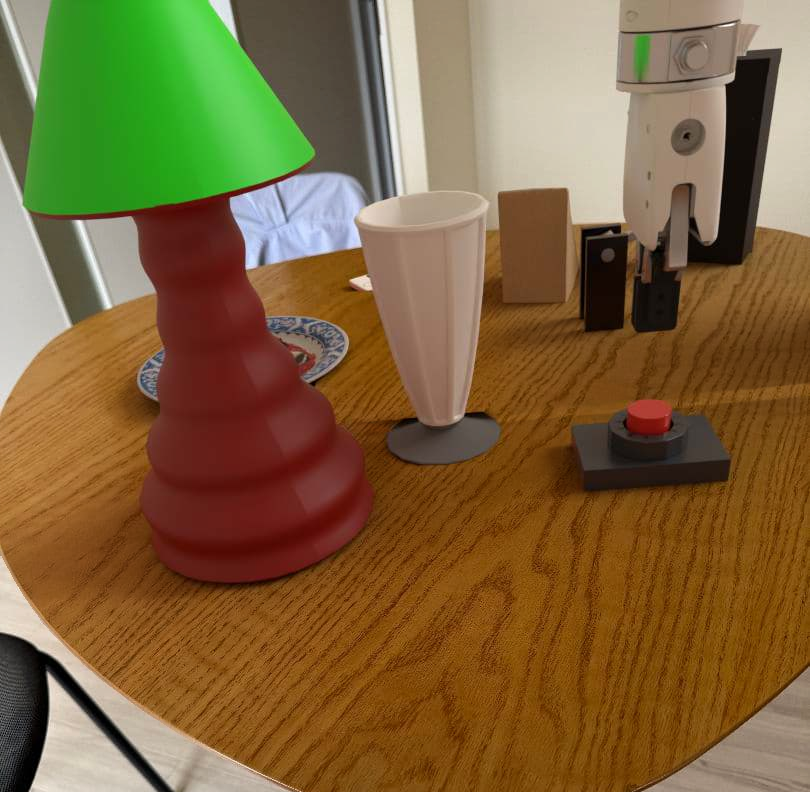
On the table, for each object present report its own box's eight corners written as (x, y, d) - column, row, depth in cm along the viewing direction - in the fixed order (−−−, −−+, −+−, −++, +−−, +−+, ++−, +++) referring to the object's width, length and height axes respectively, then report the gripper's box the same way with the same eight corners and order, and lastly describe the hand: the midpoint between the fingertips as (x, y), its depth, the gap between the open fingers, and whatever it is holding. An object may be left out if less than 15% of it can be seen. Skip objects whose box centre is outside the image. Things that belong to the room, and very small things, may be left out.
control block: (702, 435, 72) (707, 395, 70) (727, 481, 66) (734, 440, 63) (570, 445, 73) (571, 407, 71) (583, 492, 67) (584, 452, 65)
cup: (412, 478, 72) (380, 237, 59) (369, 428, 81) (334, 209, 68) (522, 443, 75) (515, 206, 62) (470, 398, 83) (454, 182, 71)
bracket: (644, 315, 96) (651, 215, 89) (659, 341, 90) (667, 235, 83) (546, 325, 97) (545, 227, 90) (553, 350, 91) (553, 247, 84)
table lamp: (210, 624, 59) (-77, -182, 32) (121, 517, 72) (-131, -110, 46) (419, 515, 67) (329, -196, 40) (304, 438, 81) (180, -131, 54)
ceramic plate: (323, 317, 109) (320, 296, 107) (377, 387, 88) (373, 362, 87) (137, 360, 104) (130, 338, 102) (148, 444, 83) (140, 419, 82)
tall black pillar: (740, 275, 103) (775, 23, 87) (679, 271, 107) (701, 29, 90) (752, 256, 109) (787, 15, 92) (693, 253, 112) (717, 21, 96)
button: (664, 415, 69) (666, 397, 68) (674, 435, 66) (676, 416, 65) (622, 418, 69) (623, 400, 68) (630, 438, 66) (631, 420, 65)
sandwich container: (582, 271, 111) (584, 157, 102) (568, 312, 100) (569, 187, 91) (522, 272, 114) (519, 161, 105) (501, 312, 102) (496, 190, 93)
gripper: (774, 63, 45) (730, 362, 56) (703, 43, 57) (678, 292, 68) (641, 78, 46) (622, 371, 56) (599, 55, 58) (590, 299, 68)
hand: (653, 327), depth 62 cm, fingers closed
